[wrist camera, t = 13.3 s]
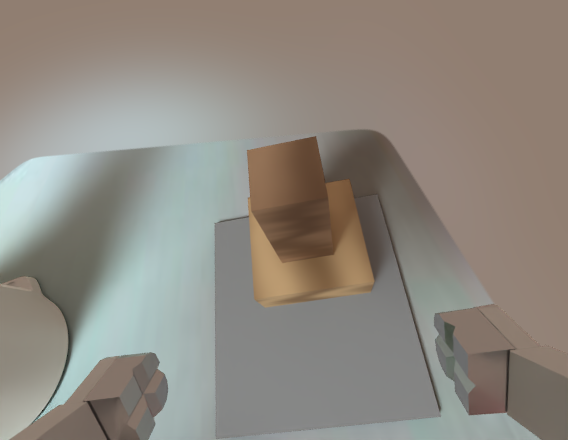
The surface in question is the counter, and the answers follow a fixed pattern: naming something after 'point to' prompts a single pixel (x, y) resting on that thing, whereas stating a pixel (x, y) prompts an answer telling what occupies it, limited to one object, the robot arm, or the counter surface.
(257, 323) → the grey mat
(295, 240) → the walnut column
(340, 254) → the oak base block
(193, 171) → the counter surface
